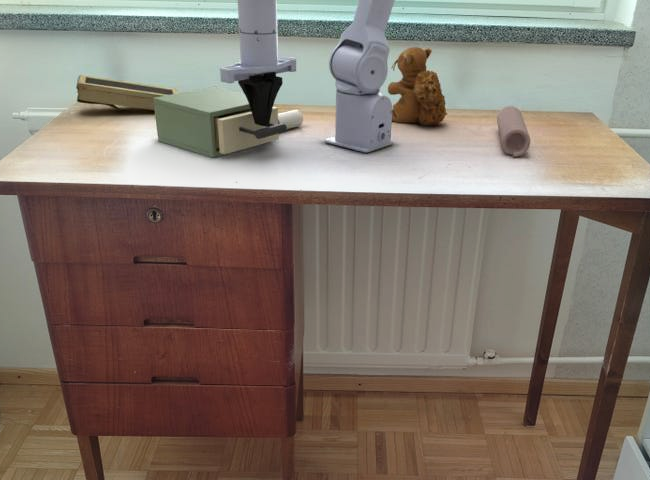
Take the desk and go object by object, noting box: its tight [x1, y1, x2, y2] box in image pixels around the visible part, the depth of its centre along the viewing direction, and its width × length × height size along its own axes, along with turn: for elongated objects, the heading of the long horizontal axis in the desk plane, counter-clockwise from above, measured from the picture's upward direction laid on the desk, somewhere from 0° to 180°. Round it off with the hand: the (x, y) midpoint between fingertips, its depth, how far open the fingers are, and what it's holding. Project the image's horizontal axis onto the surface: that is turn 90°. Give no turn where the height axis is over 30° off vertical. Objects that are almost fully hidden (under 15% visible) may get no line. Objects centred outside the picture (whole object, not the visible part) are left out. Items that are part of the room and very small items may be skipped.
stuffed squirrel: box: [387, 46, 449, 127], centre depth 132 cm, size 10×14×13 cm
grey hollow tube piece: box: [496, 105, 531, 158], centre depth 123 cm, size 5×5×18 cm
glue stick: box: [278, 109, 304, 130], centre depth 126 cm, size 8×3×3 cm, turn 141°
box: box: [75, 74, 180, 112], centre depth 135 cm, size 8×22×5 cm, turn 107°
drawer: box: [214, 106, 288, 155], centre depth 115 cm, size 18×12×5 cm
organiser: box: [153, 86, 273, 159], centre depth 117 cm, size 14×14×7 cm
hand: (262, 124), depth 111 cm, fingers closed
